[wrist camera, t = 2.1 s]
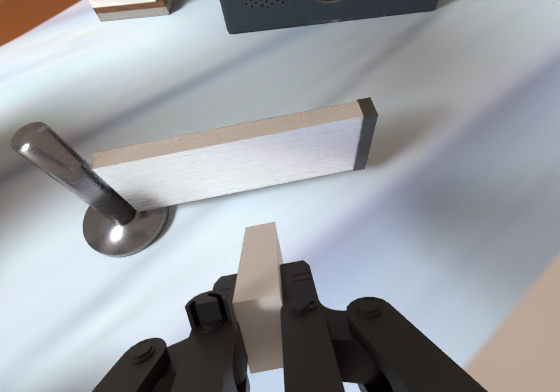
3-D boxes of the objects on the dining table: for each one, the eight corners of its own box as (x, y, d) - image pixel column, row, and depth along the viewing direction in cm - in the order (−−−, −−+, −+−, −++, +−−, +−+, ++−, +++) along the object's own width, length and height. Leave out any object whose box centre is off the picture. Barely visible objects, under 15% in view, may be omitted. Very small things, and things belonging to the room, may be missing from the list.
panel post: (71, 242, 31) (-62, 171, 20) (118, 174, 34) (26, 82, 23) (140, 268, 29) (34, 206, 18) (182, 194, 32) (115, 103, 21)
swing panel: (138, 213, 29) (91, 171, 23) (139, 196, 30) (94, 151, 24) (364, 168, 29) (377, 114, 23) (358, 153, 30) (370, 97, 24)
